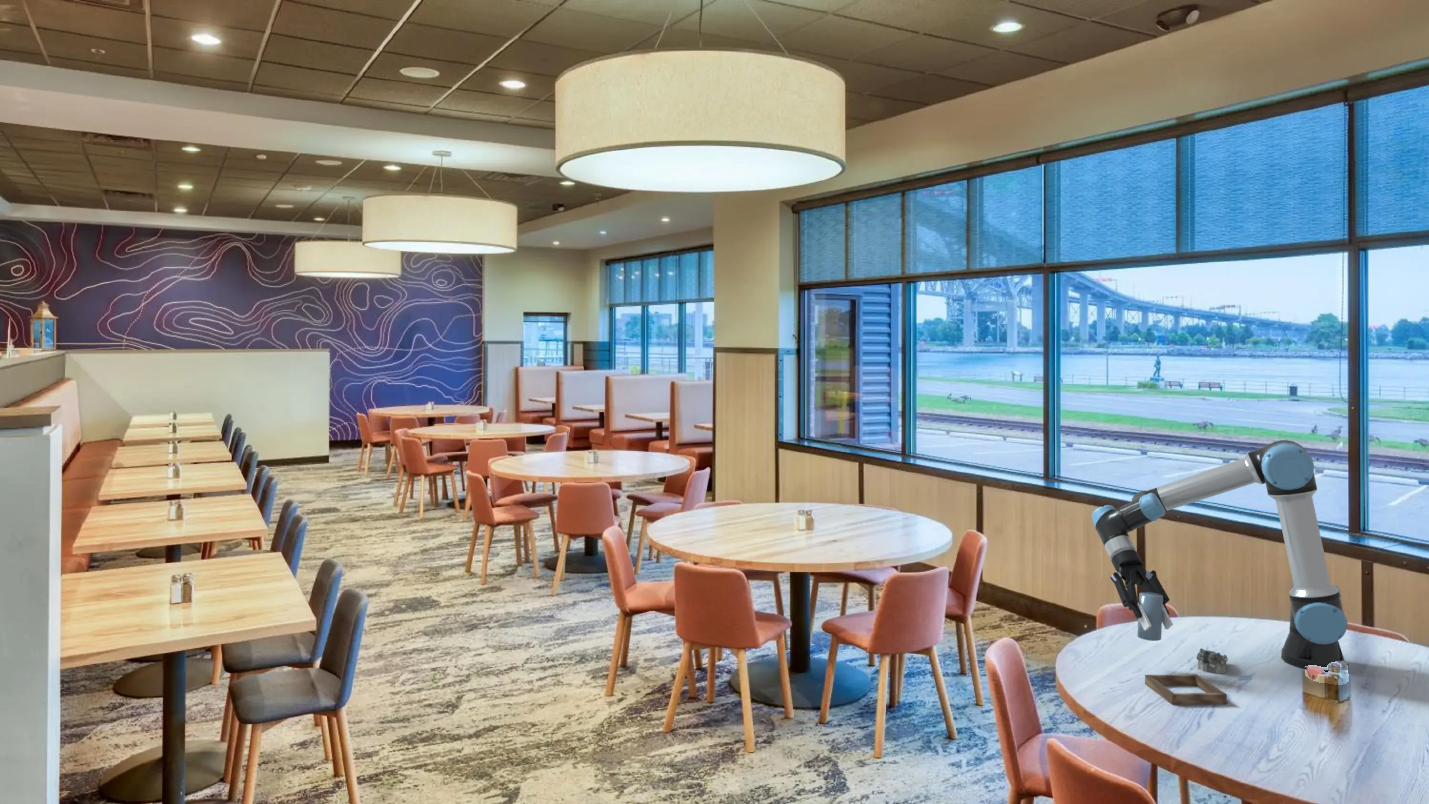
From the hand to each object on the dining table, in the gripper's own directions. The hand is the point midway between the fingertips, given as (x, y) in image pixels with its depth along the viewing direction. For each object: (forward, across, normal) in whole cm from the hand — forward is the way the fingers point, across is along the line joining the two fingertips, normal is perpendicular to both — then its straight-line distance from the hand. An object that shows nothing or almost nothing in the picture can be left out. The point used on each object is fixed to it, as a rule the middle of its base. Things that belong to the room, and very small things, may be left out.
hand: (1158, 627), depth 256 cm
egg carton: (+8, -19, -10) cm, 23 cm away
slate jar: (0, 0, -5) cm, 5 cm away
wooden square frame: (+19, +3, +1) cm, 20 cm away
